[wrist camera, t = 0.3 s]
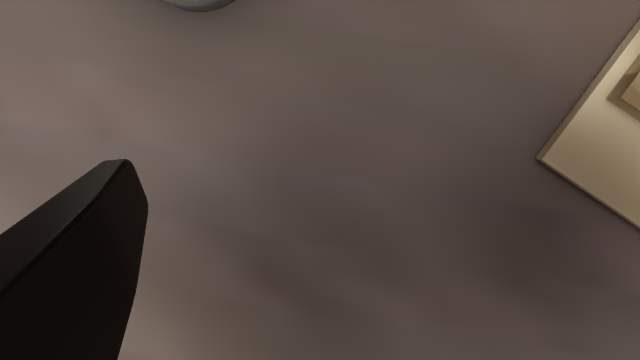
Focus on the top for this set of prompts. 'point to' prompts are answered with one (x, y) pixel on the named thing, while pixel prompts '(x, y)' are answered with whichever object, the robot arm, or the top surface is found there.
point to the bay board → (605, 135)
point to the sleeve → (199, 4)
